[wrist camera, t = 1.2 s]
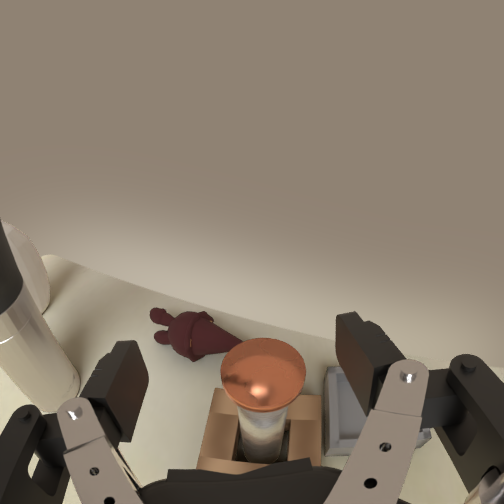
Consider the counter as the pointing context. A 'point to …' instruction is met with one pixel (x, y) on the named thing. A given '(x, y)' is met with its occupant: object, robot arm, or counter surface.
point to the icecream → (192, 334)
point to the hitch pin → (262, 392)
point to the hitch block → (228, 429)
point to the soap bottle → (29, 265)
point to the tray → (346, 416)
